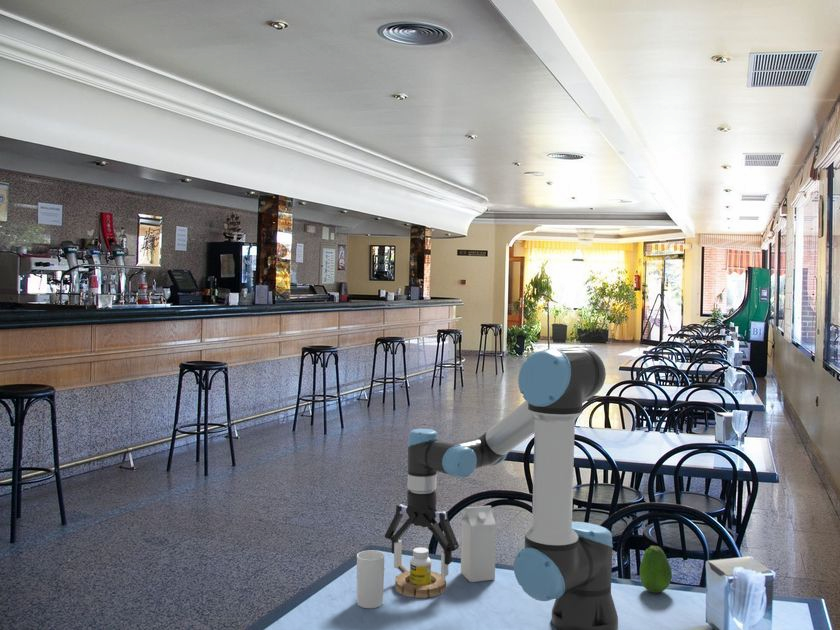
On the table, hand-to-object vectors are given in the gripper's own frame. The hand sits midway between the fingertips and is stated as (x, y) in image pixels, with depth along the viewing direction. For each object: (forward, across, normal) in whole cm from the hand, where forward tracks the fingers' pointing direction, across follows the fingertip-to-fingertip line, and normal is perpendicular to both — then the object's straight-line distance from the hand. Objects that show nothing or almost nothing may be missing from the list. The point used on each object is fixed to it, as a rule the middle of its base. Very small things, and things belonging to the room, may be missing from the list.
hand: (420, 571), depth 198 cm
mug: (+4, +7, +13) cm, 16 cm away
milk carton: (+4, -10, -14) cm, 18 cm away
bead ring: (+4, 0, 0) cm, 4 cm away
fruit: (+4, -54, -27) cm, 61 cm away
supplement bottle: (+4, 0, 0) cm, 4 cm away
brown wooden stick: (+4, +9, -7) cm, 12 cm away
